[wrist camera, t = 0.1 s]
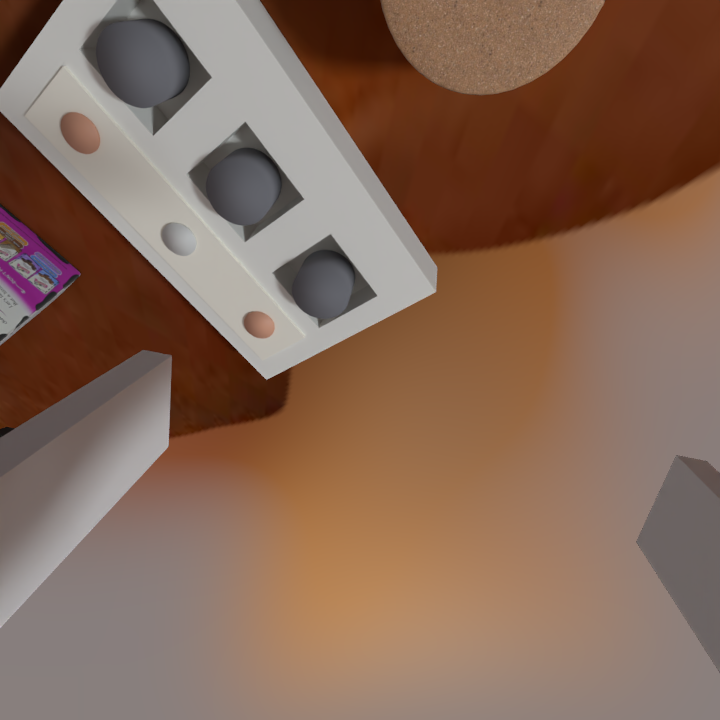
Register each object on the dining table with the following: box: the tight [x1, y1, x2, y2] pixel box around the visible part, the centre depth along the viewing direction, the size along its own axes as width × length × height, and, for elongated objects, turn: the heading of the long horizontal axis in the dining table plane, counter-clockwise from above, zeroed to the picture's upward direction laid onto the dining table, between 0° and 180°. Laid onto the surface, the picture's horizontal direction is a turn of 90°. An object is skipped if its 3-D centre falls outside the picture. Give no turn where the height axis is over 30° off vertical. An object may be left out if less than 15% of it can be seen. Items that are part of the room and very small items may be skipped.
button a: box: [96, 18, 190, 108], centre depth 30 cm, size 4×4×3 cm
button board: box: [0, 0, 437, 380], centre depth 36 cm, size 18×28×4 cm, turn 36°
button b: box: [206, 148, 282, 226], centre depth 34 cm, size 4×4×3 cm
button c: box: [292, 250, 355, 319], centre depth 38 cm, size 4×4×3 cm
